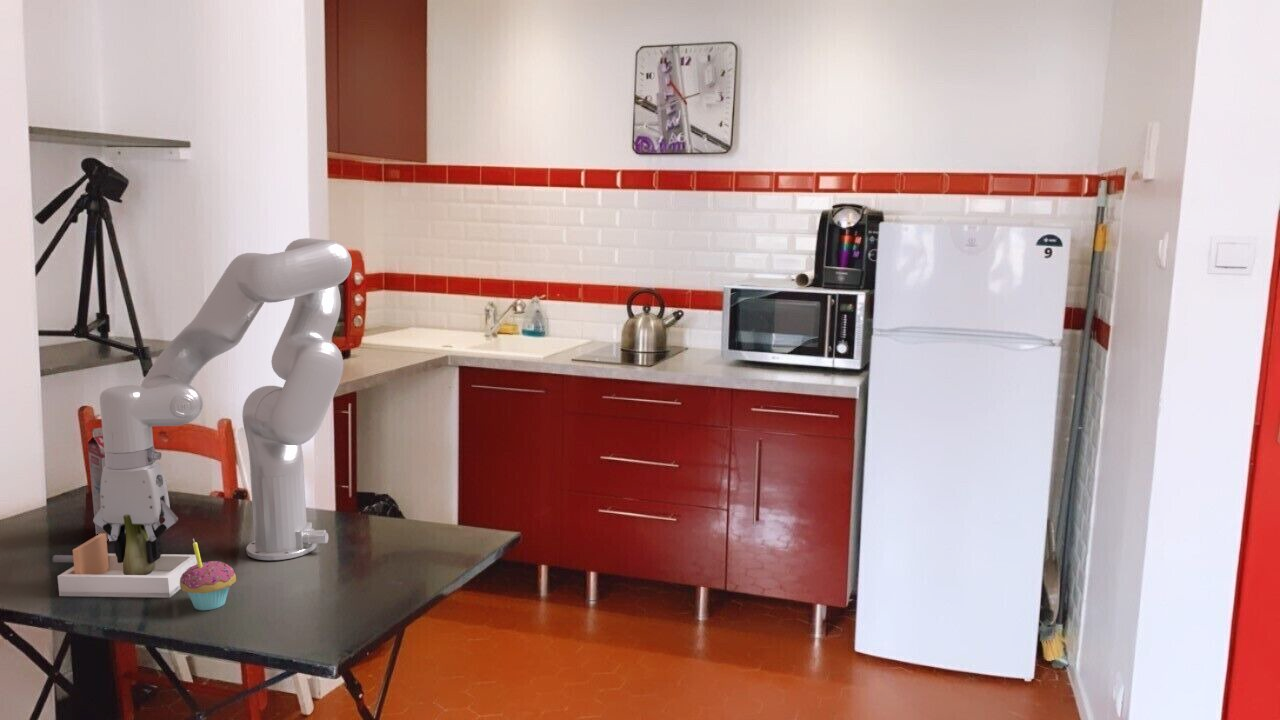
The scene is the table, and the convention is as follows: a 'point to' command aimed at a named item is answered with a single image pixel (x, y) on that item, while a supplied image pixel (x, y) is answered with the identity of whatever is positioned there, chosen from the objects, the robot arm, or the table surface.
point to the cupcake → (207, 582)
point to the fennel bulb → (136, 550)
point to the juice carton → (97, 471)
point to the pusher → (88, 556)
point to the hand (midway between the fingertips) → (139, 559)
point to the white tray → (128, 579)
